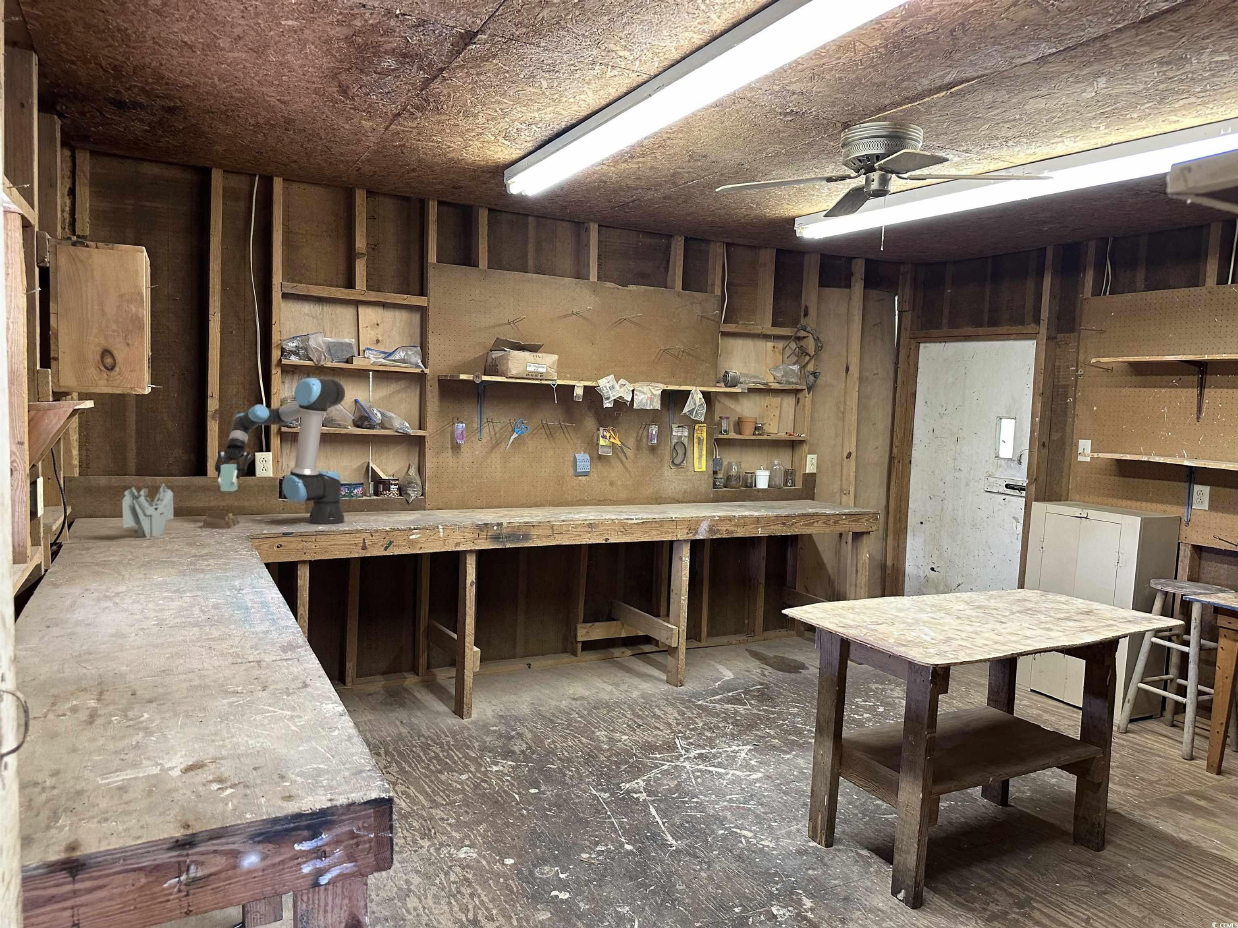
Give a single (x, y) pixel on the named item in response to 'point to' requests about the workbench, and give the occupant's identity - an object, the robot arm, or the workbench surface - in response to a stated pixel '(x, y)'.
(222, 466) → the mint green box
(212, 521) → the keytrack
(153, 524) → the bracket
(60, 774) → the workbench surface
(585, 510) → the workbench surface
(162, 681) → the workbench surface
